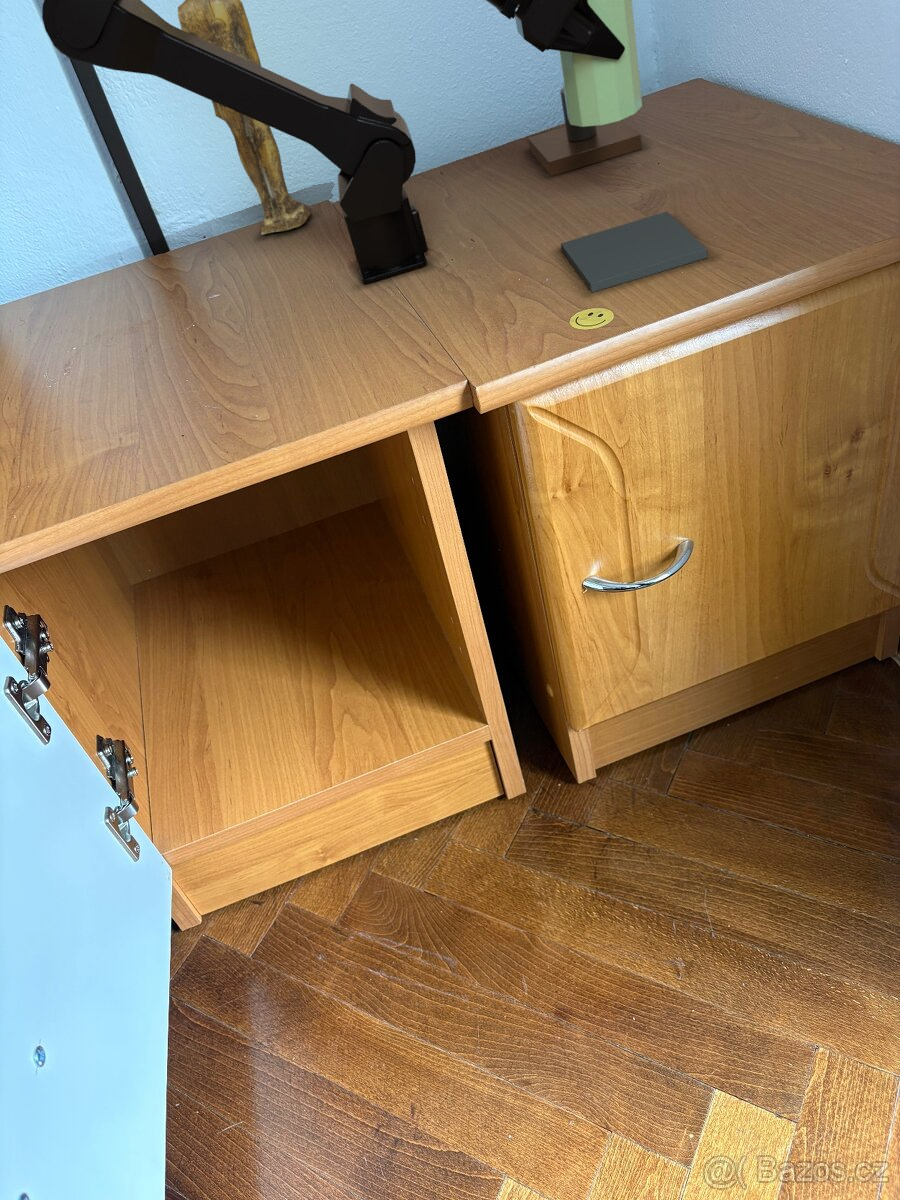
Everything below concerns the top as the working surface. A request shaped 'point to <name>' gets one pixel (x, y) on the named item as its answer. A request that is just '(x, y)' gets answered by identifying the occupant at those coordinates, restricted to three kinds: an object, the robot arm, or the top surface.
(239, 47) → the sculpture
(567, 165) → the stand
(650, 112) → the top surface
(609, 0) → the green faceted tube
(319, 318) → the top surface
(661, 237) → the mat
